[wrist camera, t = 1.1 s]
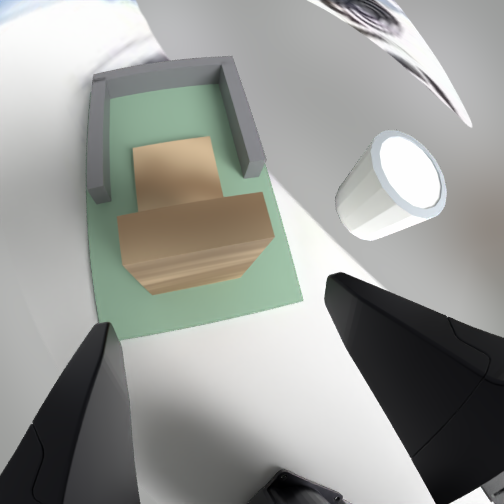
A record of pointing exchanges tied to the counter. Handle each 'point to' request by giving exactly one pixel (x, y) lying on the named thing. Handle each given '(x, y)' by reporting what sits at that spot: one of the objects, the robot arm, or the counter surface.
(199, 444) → the counter surface
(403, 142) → the white cup
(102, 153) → the pocket
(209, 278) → the bookend
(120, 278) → the mat
